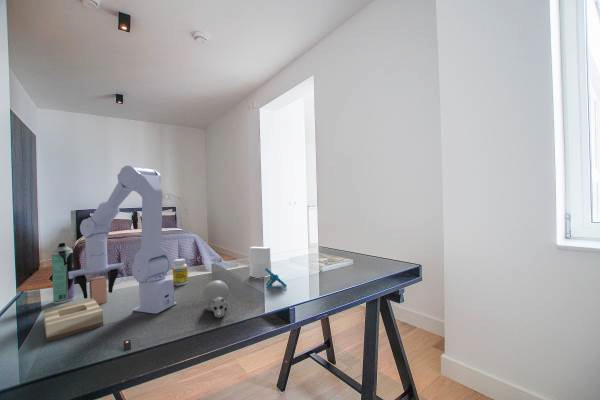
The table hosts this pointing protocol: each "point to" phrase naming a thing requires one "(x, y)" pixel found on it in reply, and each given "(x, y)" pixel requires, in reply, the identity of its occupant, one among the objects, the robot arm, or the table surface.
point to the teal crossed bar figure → (273, 279)
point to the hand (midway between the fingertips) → (98, 294)
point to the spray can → (62, 274)
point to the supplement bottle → (180, 272)
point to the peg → (98, 289)
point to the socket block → (72, 319)
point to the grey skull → (216, 297)
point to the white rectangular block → (259, 261)
